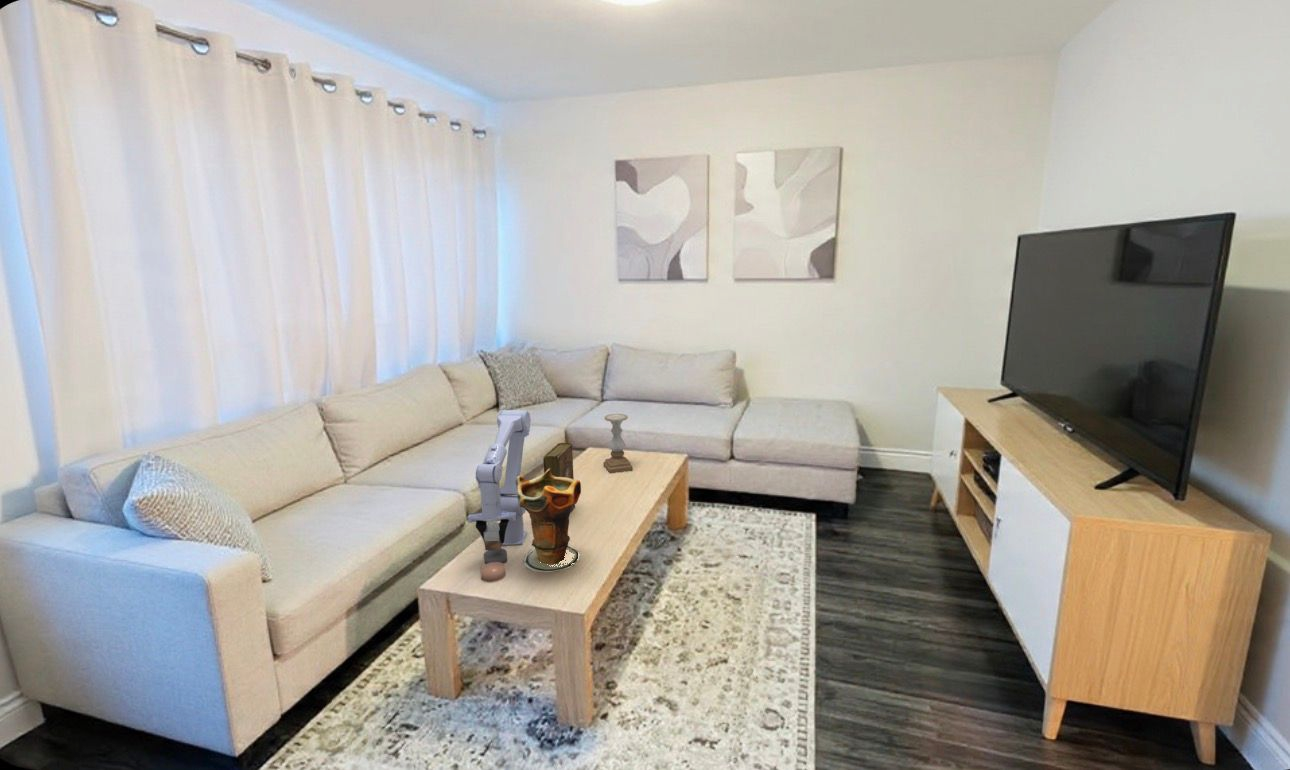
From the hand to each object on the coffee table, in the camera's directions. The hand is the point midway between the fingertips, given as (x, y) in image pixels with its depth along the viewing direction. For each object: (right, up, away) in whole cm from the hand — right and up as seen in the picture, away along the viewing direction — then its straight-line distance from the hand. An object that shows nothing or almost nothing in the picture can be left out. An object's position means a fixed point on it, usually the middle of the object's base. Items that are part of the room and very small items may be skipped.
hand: (494, 542), depth 187 cm
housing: (0, -1, 0) cm, 1 cm away
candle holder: (+35, +11, +82) cm, 90 cm away
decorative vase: (+18, -6, +2) cm, 19 cm away
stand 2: (+2, -8, -8) cm, 11 cm away
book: (+16, +1, +34) cm, 38 cm away
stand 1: (0, -6, +1) cm, 6 cm away
